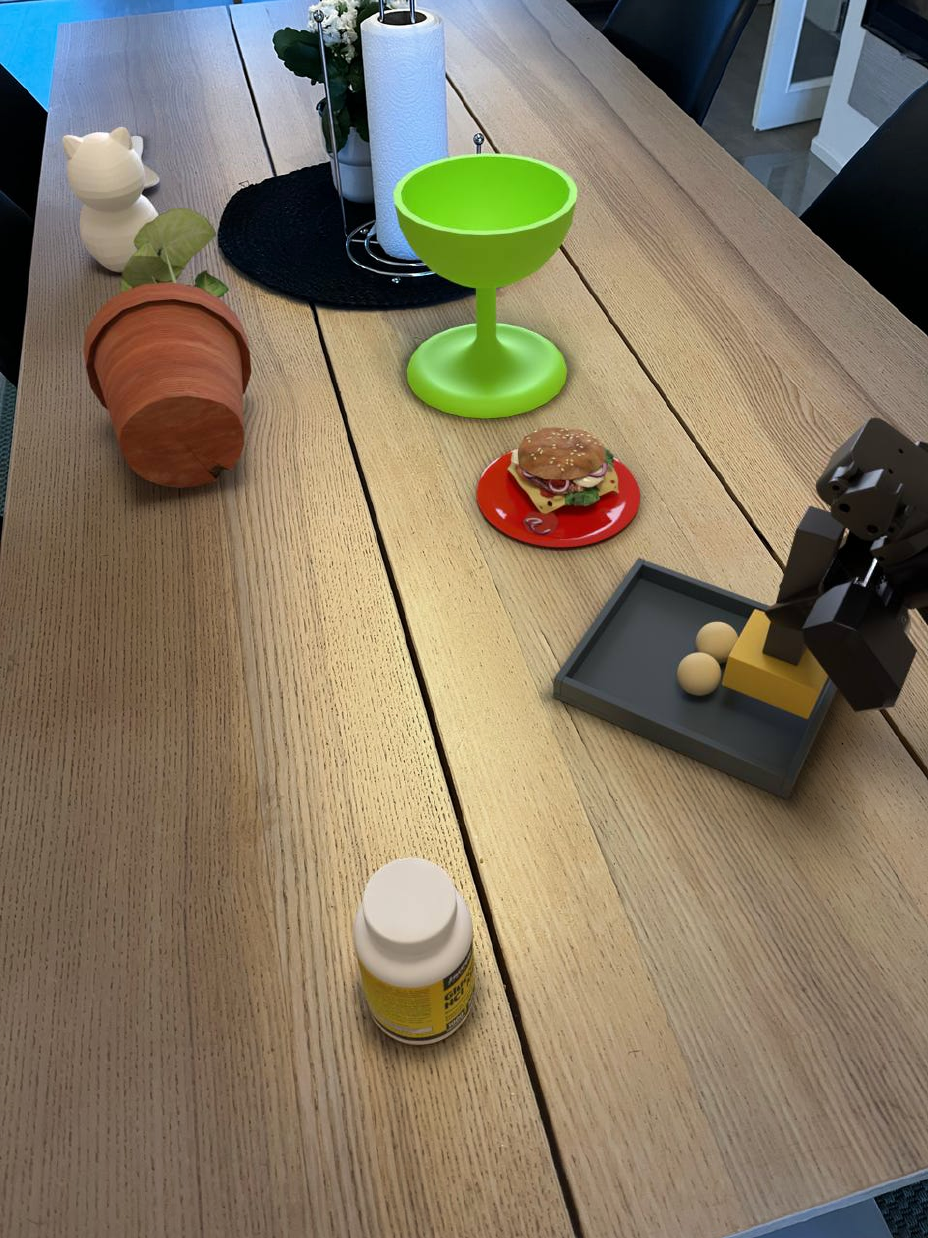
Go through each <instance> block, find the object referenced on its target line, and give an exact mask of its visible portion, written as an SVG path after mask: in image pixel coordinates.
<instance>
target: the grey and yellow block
mask: <svg viewBox="0 0 928 1238" xmlns="http://www.w3.org/2000/svg"><path fill="white" fill-rule="evenodd" d="M846 529H847V528H846V527H844V526H843V525H842V524H841V523H839V522H838V521H837V520H835V519H834V518H833V517H832V516H831V511H828V510H826V509H823V508H819V507H816V506H814V505H809V506H808V507H807V509H806V510H805V512H804V514H803V516H802V518H801V519H800V522H799V523H798V524H797V526H796V529H795V532H794V536H793V539H792V543H791V546H790V550H789V552H788V553H789V554H788V556H787V561H786V563H785V567H784V571H783V575H782V578H781V581H780V584H781V586H780V588H779V590H778V594H777V598H776V600H775V604H776V603H778V602H779V601H781V600H783V599H786V598H788V597H790V596H792V595H795V594H797V593H799V592H802V591H804V590H806V589H808V588H811V587H813V586H815V585H817V584H820V583H821V581H822V579H823V577H824V575H825V573H826V571H827V569H828V567H829V565H830V563H831V561H832V559H833V558H834V557H835V556H837V554H838V551H839V548H840V545H841V542H842V539H843V537H845V532H846ZM827 677H828V675H827V674H826V672H825V671H824V670H823V668H822V667H821V665H820V664H819V663H818V661H817V660H816V659H815V657H814V656H813V655H812V653H811V652H810V651H809V649H808V648H807V647H806V645H805V644H804V639H803V632H802V631H798V630H794V629H790V628H786V627H781V626H777V625H774V624H772V623H771V622H770V620H769V619H768V618H767V616H766V615H765V613H764V612H761V611H759V610H756V609H755V610H754V612H753V613H752V615H751V617H750V619H749V621H748V622H747V624H746V626H745V628H744V629H743V631H742V633H741V635H740V637H739V638H738V640H737V642H736V644H735V646H734V647H733V649H732V651H731V653H730V654H729V656H728V661H727V665H726V669H725V673H724V677H723V681H722V685H723V686H726V687H728V688H731V689H733V690H736V691H738V692H741V693H743V694H746V695H748V696H751V697H753V698H756V699H758V700H761V701H763V702H766V703H768V704H771V705H773V706H776V707H778V708H781V709H783V710H786V711H788V712H791V713H793V714H795V715H798V716H800V717H803V718H805V719H808V718H809V716H810V714H811V712H812V710H813V707H814V705H815V703H816V701H817V699H818V697H819V695H820V692H821V690H822V688H823V686H824V684H825V682H826V680H827Z"/></svg>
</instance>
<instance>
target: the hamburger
mask: <svg viewBox="0 0 928 1238" xmlns="http://www.w3.org/2000/svg"><path fill="white" fill-rule="evenodd" d="M476 499H477V504H478V506H479V508H480V510H481V513H482V514H483V516H484V517H485V518H486V519H487V520H488V521H489V523H491V524H492V525H493V526H494V527H495V528H496V529H498V530H499V531H501V532H502V533H504V534H506V535H508V536H509V537H511V538H513V539H516V540H519V541H522V542H524V543H528V544H532V545H536V546H542V547H549V548H550V547H551V548H573V547H581V546H586V545H589V544H595V543H597V542H600V541H604V540H607V539H608V538H611V537H612V536H614V535H616V534H617V533H619V532H621V530H623V529H624V528H625V527H627V526H628V525H629V524H630V523H631V521H632V520H633V519H634V517H635V516H636V514H637V512H638V510H639V507H640V504H641V490H640V486H639V483H638V481H637V479H636V477H635V475H634V474H633V473H632V472H631V470H630V469H629V468H628V467H627V466H626V465H625V464H623V462H621V461H620V460H619V459H617V458H615V457H614V454H613V453H612V452H611V451H610V450H609V449H608V448H606V447H605V446H604V445H603V444H602V443H601V442H600V440H599V439H598V438H596V436H594V435H593V434H592V433H590V432H588V431H587V429H578V428H574V429H573V428H566V427H565V428H564V427H556V426H553V427H544V428H541V429H538V430H537V429H536V430H534V431H533V432H530V433H528V434H527V435H524V437H523V439H522V440H521V442H520V444H519V446H518V448H515V449H513V450H510V451H508V452H506V453H505V454H502V455H501V456H499V457H498V458H496V459H495V460H493V461H492V462H491V463H490V464H489V465H488V466H487V467H486V468H485V470H484V471H483V472H482V474H481V476H480V477H479V479H478V483H477V487H476Z"/></svg>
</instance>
